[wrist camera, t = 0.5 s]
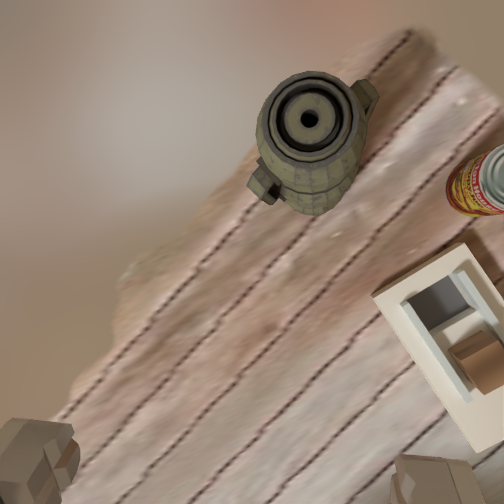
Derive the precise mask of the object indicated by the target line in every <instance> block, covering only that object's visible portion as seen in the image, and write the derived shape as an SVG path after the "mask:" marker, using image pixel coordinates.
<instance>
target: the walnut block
mask: <svg viewBox="0 0 504 504" xmlns="http://www.w3.org/2000/svg"><path fill="white" fill-rule="evenodd" d="M448 351H449V352H450V354H451V355H452V357H453V358H454V360H455V361H456V363H457V364H458V366H459V367H460V368H461V370H462V371H463V373H464V374H465V376H466V377H467V379H468V380H469V381H470V382H471V383H472V384H473V385H474V386H475V387H476V388H477V389H478V390H479V391H480V392H481V393H482V394H483V395H486V394H488V393H490V392H492V391H493V390H495V389H497V388H499V387H501V386H503V385H504V348H503V347H502V345H501V344H500V342H499V341H498V340H497V339H495V338H494V337H492V336H490V335H489V334H487V333H485V332H483V331H482V330H481V331H479V332H477V333H475V334H474V335H472V336H470V337H468V338H467V339H465V340H463V341H461V342H460V343H458V344H456V345H454V346H453V347H451V348H449V349H448Z"/></svg>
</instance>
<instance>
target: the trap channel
mask: <svg viewBox="0 0 504 504" xmlns="http://www.w3.org/2000/svg"><path fill="white" fill-rule="evenodd" d="M370 296H371V297H372V299H373V300H374V302H375V303H376V305H377V306H378V308H379V309H380V311H381V312H382V314H383V315H384V317H385V318H386V320H387V321H388V323H389V324H390V326H391V327H392V329H393V330H394V332H395V333H396V335H397V336H398V338H399V339H400V341H401V342H402V344H403V345H404V347H405V348H406V350H407V351H408V353H409V354H410V356H411V357H412V359H413V360H414V362H415V363H416V365H417V366H418V368H419V369H420V371H421V372H422V374H423V375H424V377H425V378H426V380H427V381H428V383H429V384H430V386H431V387H432V389H433V390H434V392H435V393H436V395H437V396H438V398H439V399H440V401H441V402H442V404H443V405H444V407H445V408H446V410H447V411H448V413H449V414H450V416H451V417H452V419H453V420H454V422H455V423H456V425H457V426H458V428H459V429H460V431H461V432H462V434H463V435H464V437H465V438H466V440H467V441H468V443H469V444H470V445H471V447H472V448H473V449H474V451H475V452H476V453H479V452H481V451H483V450H485V449H487V448H489V447H491V446H493V445H495V444H497V443H499V442H501V441H503V440H504V385H503V386H501V387H499V388H497V389H495V390H493V391H492V392H490V393H488V394H486V395H483V394H482V393H481V392H480V391H479V390H478V389H477V388H476V387H475V386H474V385H473V384H472V383H471V382H470V381H469V380H468V379H467V377H466V376H465V374H464V373H463V371H462V370H461V368H460V367H459V366H458V364H457V363H456V361H455V360H454V358H453V357H452V355H451V354H450V352H449V351H448V349H449V348H451V347H453V346H454V345H456V344H458V343H460V342H461V341H463V340H465V339H467V338H468V337H470V336H472V335H474V334H475V333H477V332H479V331H481V330H482V331H483V332H485V333H487V334H489V335H490V336H492V337H494V338H495V339H497V340H498V341H499V342H500V344H501V345H502V347H503V348H504V300H503V298H502V297H501V295H500V294H499V292H498V291H497V290H496V288H495V287H494V285H493V284H492V282H491V281H490V279H489V278H488V276H487V275H486V273H485V272H484V271H483V269H482V268H481V266H480V265H479V263H478V262H477V260H476V259H475V257H474V256H473V255H472V253H471V252H470V250H469V249H468V247H467V246H466V244H465V243H455V244H453V245H452V246H450V247H448V248H447V249H445V250H444V251H442V252H440V253H439V254H437V255H435V256H434V257H432V258H430V259H429V260H427V261H426V262H424V263H422V264H421V265H419V266H417V267H416V268H414V269H412V270H411V271H409V272H408V273H406V274H404V275H403V276H401V277H399V278H398V279H396V280H394V281H393V282H391V283H390V284H388V285H386V286H385V287H383V288H381V289H380V290H378V291H376V292H375V293H373V294H372V295H370Z"/></svg>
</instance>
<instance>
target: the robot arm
mask: <svg viewBox="0 0 504 504" xmlns="http://www.w3.org/2000/svg"><path fill="white" fill-rule="evenodd" d="M74 433H75V432H74V430H73V427H72V425H71V424H68V423H59V422H50V421H41V420H33V419H23V418H12V419H10V420H9V421H7V422H6V423H5V424H4V425H3V427H2V428H1V429H0V504H61V502H62V497H61V491H62V490H63V489H65V488H66V487H67V486H68V485H70V484H71V483H72V481H73V479H74V477H75V475H76V473H77V470H78V466H79V463H80V448H79V444H78V443H77V442H75V441H74V440H73V439H72V436H73V434H74ZM395 466H396V471H397V472H396V473H395V474H393V475H392V478H391V483H390V501H391V504H486V502H485V500H484V497H483V495H482V492H481V490H480V487H479V485H478V482H477V480H476V477H475V475H474V472H473V470H472V467H471V465H470V464H469V463H468V462H467V461H466V460H460V459H445V458H442V457H431V456H418V455H405V454H399V455H398V456H397V458H396V462H395Z"/></svg>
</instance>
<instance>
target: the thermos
mask: <svg viewBox="0 0 504 504" xmlns="http://www.w3.org/2000/svg"><path fill="white" fill-rule="evenodd" d="M378 99H379V95H378V93H377V91H376V89H375V88H374V86H373V85H372V84H371V83H370V82H369V81H367V80H366V79H363V80H357V81H356V82H355V83H354V84H353V85H352V86H351V87H350V88H349V87H348V86H347V85H346V84H345V83H344V82H343V81H341V80H340V79H339V78H337V77H335V76H332V75H330V74H328V73H325V72H317V71H306V72H302V73H299V74H295V75H292V76H291V77H289V78H287V79H286V80H284V81H283V82H281V83H280V84H279V85H278V86H277V87H276V88H275V89H274V91H273V92H272V93H271V94H270V95H269V97H268V98H267V99H266V100H265V102H264V104H263V107H262V109H261V111H260V113H259V116H258V118H257V127H256V139H257V145H258V150H259V153H260V155H261V157H260V158H259V159H258V160H257V161H256V162H257V163H258V164H259V165H260V166H259V167H258V168H257V169H256V170H255V171H254V172H253V173H252V175H251V177H250V179H249V181H248V183H247V185H246V186H247V187H248V188H249V189H250V190H251V191H252V192H253V193H254V194H255V195H257V196H258V197H259V198H260V199H261V200H262V201H264V202H265V203H267V204H269V205H273V204H274V203H275V202H276V201H277V200H278V198H280V199H281V200H282V201H284V202H285V201H286V202H287V203H288V204H289V205H290V206H291V207H292V208H293V209H294V210H296V211H298V212H300V213H302V214H305V215H319V214H324V213H326V212H327V211H329V210H331V209H333V208H334V207H335V206H336V204H337V203H338V202H339V201H340V200H341V198H342V196H343V194H344V192H345V191H346V190H347V189H348V188H349V187H350V185H351V184H352V182H353V180H354V178H355V176H356V174H357V172H358V170H359V166H360V159H361V151H362V149H363V147H364V145H365V140H366V133H367V122H368V120H369V118H370V116H371V114H372V112H373V110H374V107H375V105H376V103H377V101H378Z"/></svg>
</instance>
